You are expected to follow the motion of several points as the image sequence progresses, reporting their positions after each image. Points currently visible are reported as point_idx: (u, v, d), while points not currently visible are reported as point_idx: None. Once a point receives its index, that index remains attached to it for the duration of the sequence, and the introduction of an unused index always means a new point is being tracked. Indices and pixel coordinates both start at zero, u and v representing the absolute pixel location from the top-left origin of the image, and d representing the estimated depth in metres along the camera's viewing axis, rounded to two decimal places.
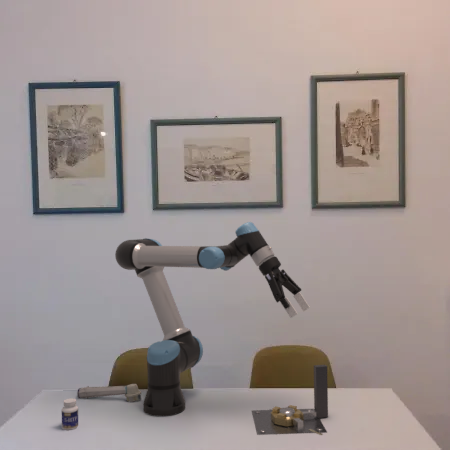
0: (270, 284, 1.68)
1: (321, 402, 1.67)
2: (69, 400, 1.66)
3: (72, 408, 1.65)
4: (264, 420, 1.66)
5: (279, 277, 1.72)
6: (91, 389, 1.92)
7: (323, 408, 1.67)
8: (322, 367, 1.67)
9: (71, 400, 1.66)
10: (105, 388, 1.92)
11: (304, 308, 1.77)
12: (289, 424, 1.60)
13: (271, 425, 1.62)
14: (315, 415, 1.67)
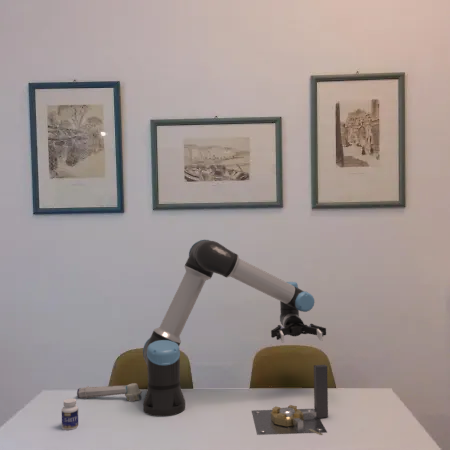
0: None
1: (321, 402, 1.67)
2: (69, 400, 1.66)
3: (72, 408, 1.65)
4: (264, 420, 1.66)
5: None
6: (91, 389, 1.92)
7: (323, 408, 1.67)
8: (322, 367, 1.67)
9: (71, 400, 1.66)
10: (105, 388, 1.92)
11: (283, 336, 1.77)
12: (289, 424, 1.60)
13: (271, 425, 1.62)
14: (315, 415, 1.67)
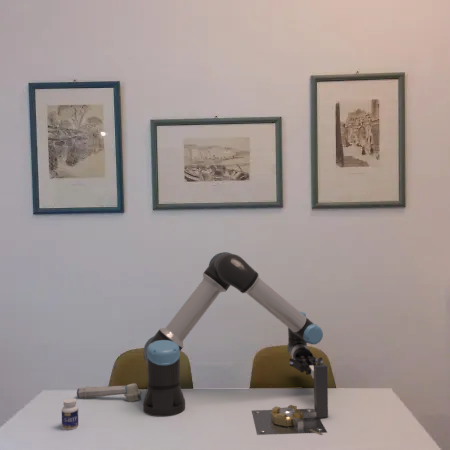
0: (320, 362, 1.87)
1: (321, 402, 1.67)
2: (69, 400, 1.66)
3: (72, 408, 1.65)
4: (264, 420, 1.66)
5: None
6: (91, 389, 1.92)
7: (323, 408, 1.67)
8: (322, 367, 1.67)
9: (71, 400, 1.66)
10: (105, 388, 1.92)
11: None
12: (289, 424, 1.60)
13: (271, 425, 1.62)
14: (315, 415, 1.67)
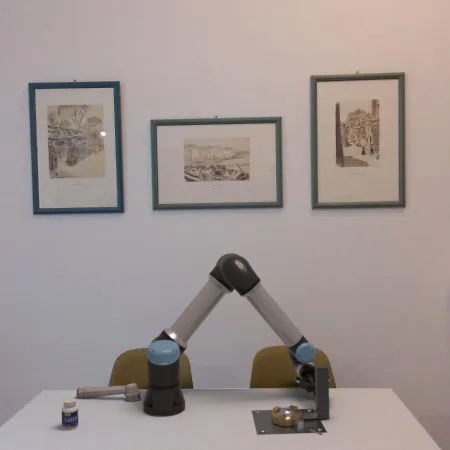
0: None
1: (322, 403, 1.66)
2: (69, 400, 1.66)
3: (72, 408, 1.65)
4: (264, 420, 1.66)
5: None
6: (90, 389, 1.92)
7: (324, 409, 1.66)
8: (323, 368, 1.66)
9: (71, 400, 1.66)
10: (105, 388, 1.92)
11: None
12: (287, 424, 1.60)
13: (271, 425, 1.62)
14: (316, 416, 1.66)
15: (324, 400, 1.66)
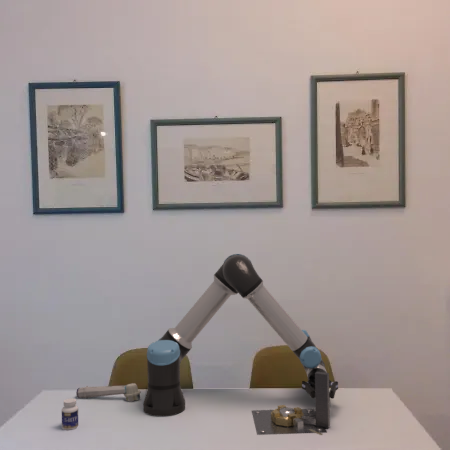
0: (335, 387, 1.74)
1: (320, 411, 1.59)
2: (69, 400, 1.66)
3: (72, 408, 1.65)
4: (264, 420, 1.66)
5: None
6: (90, 389, 1.93)
7: (323, 417, 1.59)
8: (322, 374, 1.59)
9: (71, 400, 1.66)
10: (104, 388, 1.92)
11: None
12: (279, 423, 1.61)
13: (271, 425, 1.62)
14: (314, 423, 1.60)
15: (322, 408, 1.59)
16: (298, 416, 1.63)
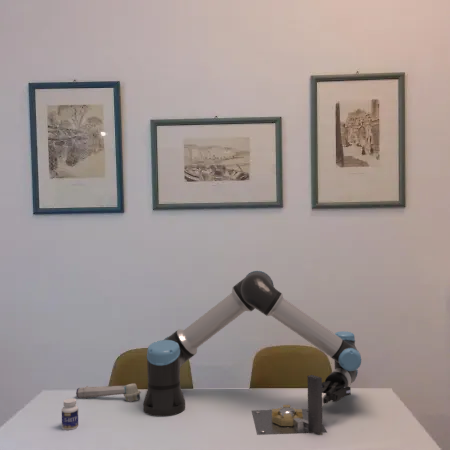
0: (344, 391, 1.66)
1: (312, 415, 1.56)
2: (69, 400, 1.66)
3: (72, 408, 1.65)
4: (264, 420, 1.66)
5: None
6: (90, 389, 1.93)
7: (314, 422, 1.55)
8: (313, 378, 1.55)
9: (71, 400, 1.66)
10: (104, 388, 1.92)
11: None
12: (274, 421, 1.63)
13: (271, 425, 1.62)
14: (307, 426, 1.58)
15: (314, 412, 1.55)
16: (294, 417, 1.62)
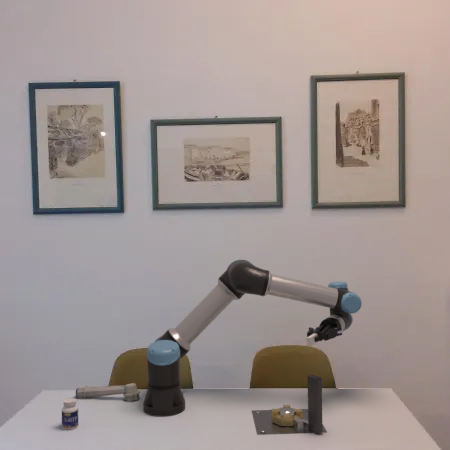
0: (335, 331, 1.78)
1: (312, 415, 1.56)
2: (69, 400, 1.66)
3: (72, 408, 1.65)
4: (264, 420, 1.66)
5: None
6: (89, 389, 1.93)
7: (314, 422, 1.55)
8: (313, 378, 1.55)
9: (71, 400, 1.66)
10: (104, 388, 1.92)
11: None
12: (274, 421, 1.63)
13: (271, 425, 1.62)
14: (307, 426, 1.58)
15: (314, 412, 1.55)
16: (294, 417, 1.62)
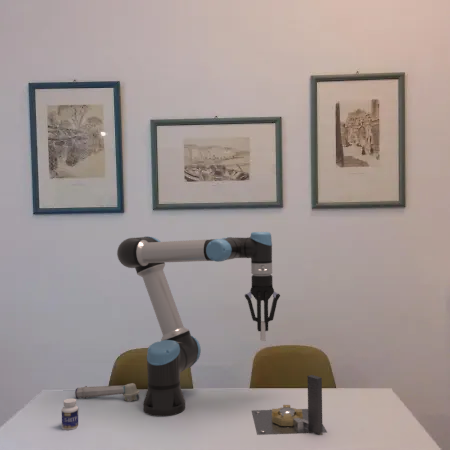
0: None
1: (312, 415, 1.56)
2: (69, 400, 1.66)
3: (72, 408, 1.65)
4: (264, 420, 1.66)
5: (257, 298, 1.78)
6: (89, 389, 1.93)
7: (314, 422, 1.55)
8: (313, 378, 1.55)
9: (71, 400, 1.66)
10: (103, 388, 1.92)
11: None
12: (274, 421, 1.63)
13: (271, 425, 1.62)
14: (307, 426, 1.58)
15: (314, 412, 1.55)
16: (294, 417, 1.62)
